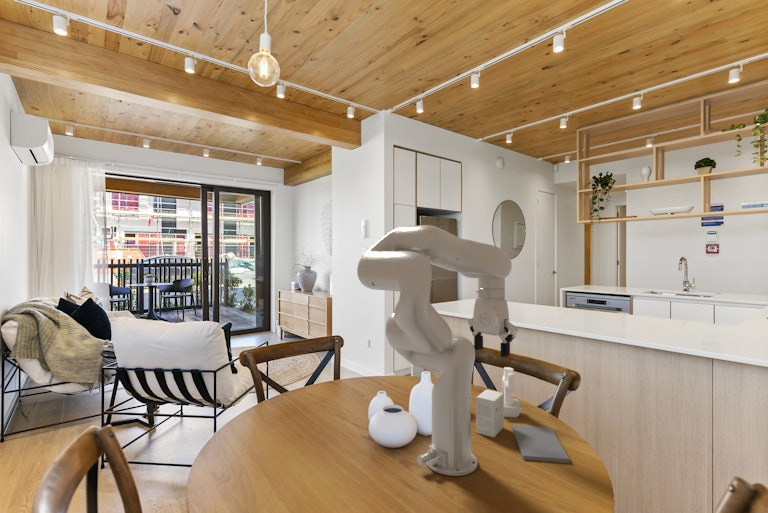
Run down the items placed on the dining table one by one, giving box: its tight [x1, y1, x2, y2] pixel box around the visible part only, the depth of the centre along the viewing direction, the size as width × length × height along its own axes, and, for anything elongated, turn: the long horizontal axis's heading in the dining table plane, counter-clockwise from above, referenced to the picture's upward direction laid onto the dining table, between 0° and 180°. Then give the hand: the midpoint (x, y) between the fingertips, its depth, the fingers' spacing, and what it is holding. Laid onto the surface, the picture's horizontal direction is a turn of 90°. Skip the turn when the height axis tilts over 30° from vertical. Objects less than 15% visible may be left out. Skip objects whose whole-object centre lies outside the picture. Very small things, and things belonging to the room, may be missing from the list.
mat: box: [511, 424, 571, 464], centre depth 106 cm, size 18×11×1 cm, turn 171°
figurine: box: [501, 366, 524, 418], centre depth 126 cm, size 7×9×15 cm
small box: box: [475, 389, 505, 438], centre depth 114 cm, size 8×6×10 cm
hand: (491, 352), depth 114 cm, fingers open, 9 cm apart
